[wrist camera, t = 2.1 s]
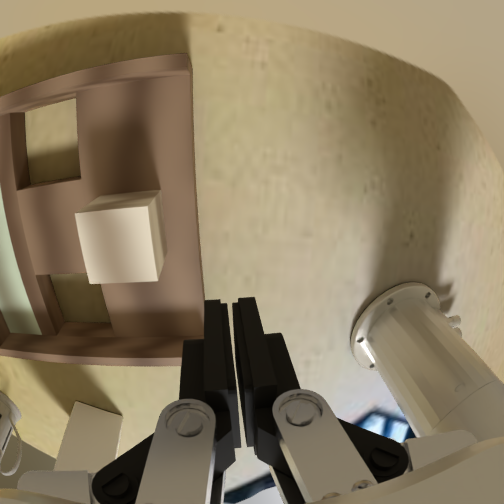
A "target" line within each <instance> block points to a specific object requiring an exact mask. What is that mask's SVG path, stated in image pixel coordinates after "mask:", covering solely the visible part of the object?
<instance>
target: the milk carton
mask: <svg viewBox="0 0 504 504" xmlns="http://www.w3.org/2000/svg"><path fill="white" fill-rule="evenodd" d="M122 422H123V416H120V415H117V414H114V413H110V412H107V411H104V410H101V409H98V408H95V407H92V406H89V405H86V404H83V403H81V402H78V401H75V404H74V407H73V409H72V412H71V415H70V418H69V421H68V424H67V427H66V430H65V433H64V436H63V440H62V443H61V446H60V449H59V453H58V456H57V460H56V463H55V467H54V471H83V470H88V472H89V473H97V472H98V471H99V470H100V469H102V468H103V467H104V466H106V465H108V464H109V463H111V462H112V461H114V460H115V459H117V454H118V448H119V443H120V436H121V429H122Z"/></svg>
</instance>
